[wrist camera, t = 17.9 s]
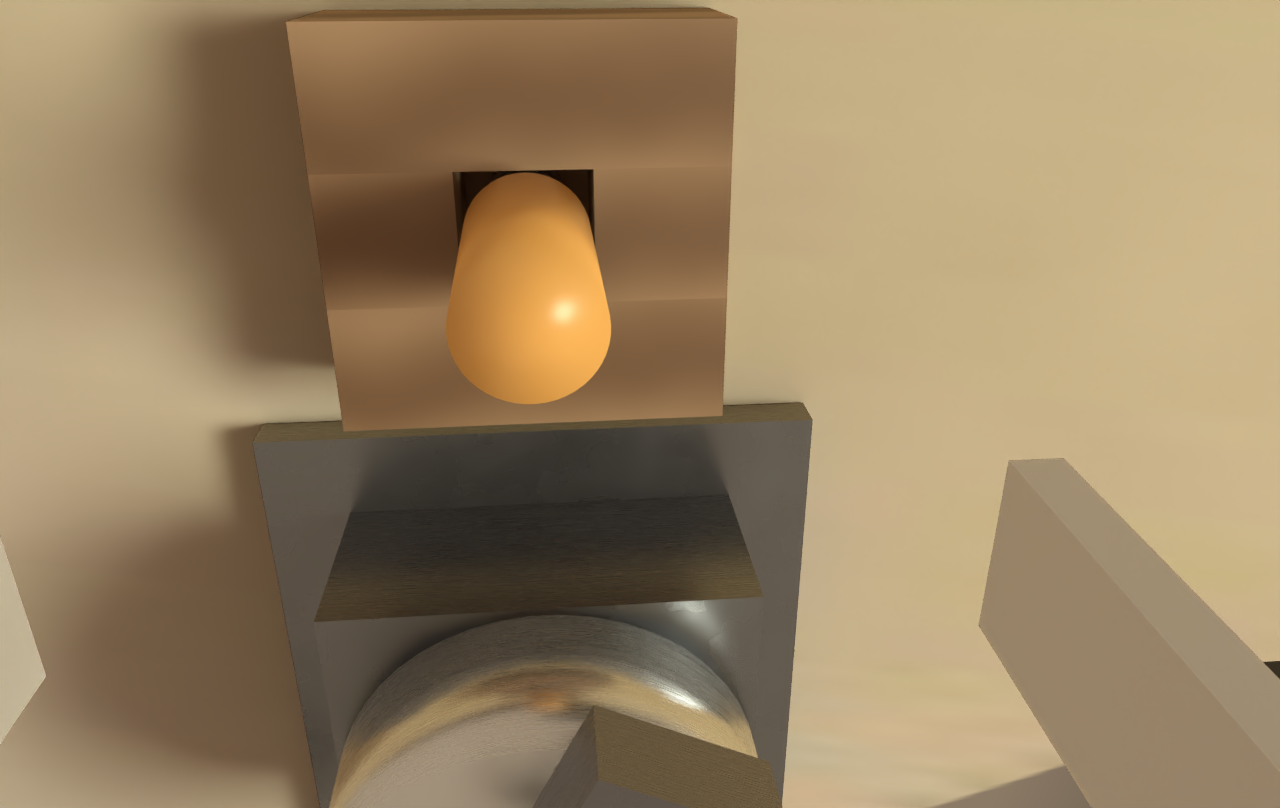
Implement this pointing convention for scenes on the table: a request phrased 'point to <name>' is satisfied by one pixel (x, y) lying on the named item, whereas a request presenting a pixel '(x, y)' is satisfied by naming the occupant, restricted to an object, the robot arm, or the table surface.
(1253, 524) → the table surface
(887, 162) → the table surface
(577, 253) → the orange rounded rod
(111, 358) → the table surface
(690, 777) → the chuck
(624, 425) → the stand
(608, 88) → the wooden hole block
